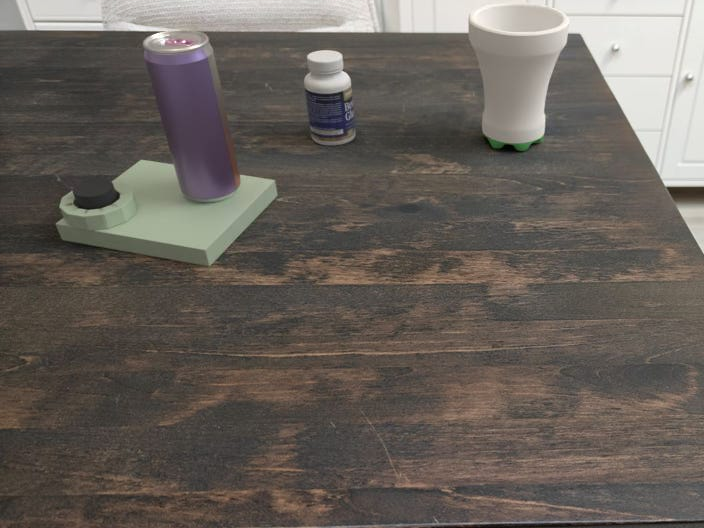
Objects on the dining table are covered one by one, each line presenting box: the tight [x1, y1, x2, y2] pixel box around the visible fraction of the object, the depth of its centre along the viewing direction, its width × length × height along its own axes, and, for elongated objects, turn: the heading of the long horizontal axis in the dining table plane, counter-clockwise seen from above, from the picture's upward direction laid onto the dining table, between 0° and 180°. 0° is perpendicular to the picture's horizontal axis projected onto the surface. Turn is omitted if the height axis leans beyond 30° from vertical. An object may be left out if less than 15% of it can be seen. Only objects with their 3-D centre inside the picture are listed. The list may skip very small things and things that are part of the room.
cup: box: [467, 1, 570, 152], centre depth 86 cm, size 11×11×14 cm
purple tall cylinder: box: [142, 29, 241, 203], centre depth 71 cm, size 6×6×15 cm
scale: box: [55, 159, 278, 267], centre depth 75 cm, size 16×14×4 cm
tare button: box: [72, 178, 118, 210], centre depth 71 cm, size 4×4×2 cm
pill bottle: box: [303, 49, 356, 147], centre depth 87 cm, size 5×5×10 cm
